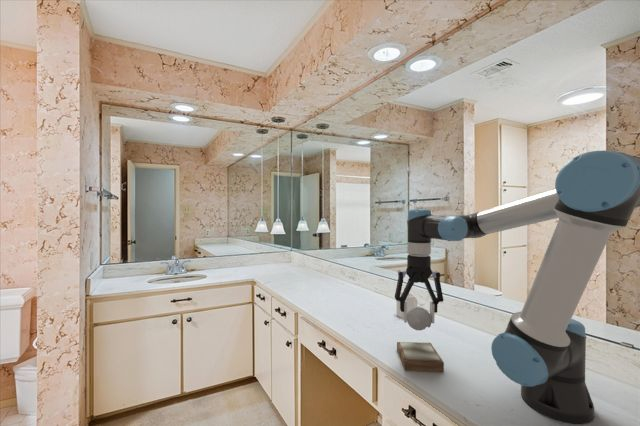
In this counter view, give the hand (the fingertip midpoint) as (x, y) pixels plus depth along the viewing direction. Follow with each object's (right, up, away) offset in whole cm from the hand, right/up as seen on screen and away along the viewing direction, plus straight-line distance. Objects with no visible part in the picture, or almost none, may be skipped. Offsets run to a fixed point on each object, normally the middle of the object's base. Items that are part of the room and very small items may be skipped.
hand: (418, 321), depth 102 cm
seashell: (0, -3, +2) cm, 3 cm away
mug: (+9, -13, +44) cm, 46 cm away
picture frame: (0, -13, 0) cm, 13 cm away
